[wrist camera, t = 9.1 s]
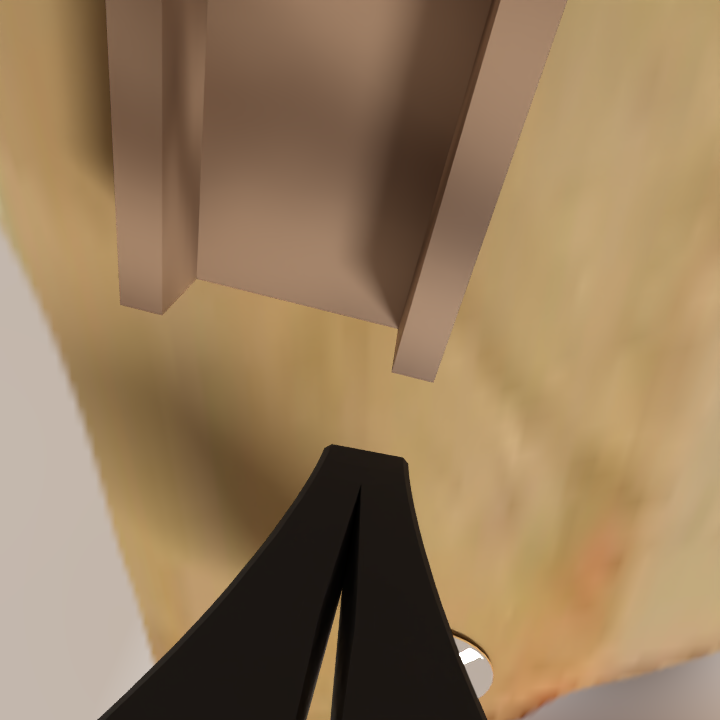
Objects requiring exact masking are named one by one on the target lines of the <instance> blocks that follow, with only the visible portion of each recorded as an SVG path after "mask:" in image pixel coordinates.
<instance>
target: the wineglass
mask: <svg viewBox="0 0 720 720" xmlns="http://www.w3.org/2000/svg"><path fill="white" fill-rule="evenodd" d="M453 637H454V640H455V643H456V645H457V648H458V650H459V653H460V656H461V658H462V661H463V663H464V666H465V668H466V671H467V673H468V676H469V678H470V681H471V683H472V685H473V688H474V690H475V692H476V695H477V697H478V698H480V697H481V696H483V695H484V694H485V693H486V692H487V691H488V690H489V689H490V687H491V685H492V683H493V680H494V670H493V667H492V664H491V662H490V661H489V659H488V658H487V656H486V655H485V654H484V653H483V652H482V651H481V650H480V649H479V648H478V647H476V646H474V645H473V644H471V643H470V642H468V641H466V640H464V639H462V638H460V637H457V636H455V635H453Z"/></svg>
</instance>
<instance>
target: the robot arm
mask: <svg viewBox="0 0 720 720" xmlns="http://www.w3.org/2000/svg"><path fill="white" fill-rule="evenodd" d="M341 591H342V597H341V608H340V619H339V630H338V641H337V653H336V664H335V675H334V686H333V698H332V709H331V720H487V718H486V716H485V713H484V711H483V709H482V706H481V704H480V702H479V699H478V697H477V695H476V692H475V690H474V688H473V685H472V683H471V681H470V678H469V676H468V673H467V671H466V668H465V666H464V663H463V661H462V658H461V656H460V653H459V650H458V648H457V645H456V643H455V640H454V637H453V634H452V632H451V629H450V626H449V623H448V620H447V618H446V615H445V612H444V609H443V607H442V604H441V601H440V598H439V594H438V591H437V588H436V585H435V582H434V579H433V576H432V572H431V569H430V565H429V562H428V559H427V555H426V552H425V548H424V545H423V541H422V537H421V534H420V530H419V526H418V521H417V517H416V512H415V508H414V503H413V498H412V492H411V486H410V479H409V470H408V463H407V462H406V461H405V459H404V458H402V457H397V456H392V455H386V454H381V453H376V452H371V451H365V450H360V449H355V448H349V447H344V446H339V445H333V444H331V445H329V446H327V447H326V448H324V450H323V453H322V455H321V457H320V459H319V461H318V463H317V465H316V467H315V468H314V470H313V472H312V474H311V475H310V477H309V479H308V480H307V482H306V484H305V485H304V487H303V488H302V490H301V491H300V493H299V495H298V496H297V498H296V499H295V501H294V502H293V504H292V505H291V506H290V508H289V509H288V511H287V512H286V513H285V515H284V516H283V518H282V519H281V520H280V522H279V523H278V524H277V526H276V527H275V529H274V530H273V531H272V533H271V534H270V535H269V537H268V538H267V539H266V541H265V542H264V543H263V545H262V546H261V547H260V548H259V550H258V551H257V552H256V553H255V555H254V556H253V557H252V558H251V559H250V561H249V562H248V563H247V564H246V566H245V567H244V568H243V569H242V570H241V572H240V573H239V574H238V575H237V576H236V578H235V579H234V580H233V581H232V583H231V584H230V585H229V586H228V587H227V589H226V590H225V591H224V592H223V593H222V594H221V595H220V597H219V598H218V599H217V600H216V601H215V602H214V603H213V604H212V606H211V607H210V608H209V609H208V610H207V611H206V612H205V613H204V614H203V615H202V617H201V618H200V619H199V620H198V621H197V622H196V623H195V624H194V625H193V626H192V627H191V628H190V629H189V630H188V631H187V633H186V634H185V635H184V636H183V637H182V638H181V639H180V640H179V641H178V642H177V643H176V644H175V645H174V646H173V647H172V648H171V649H170V650H169V651H168V652H167V653H166V654H165V655H164V656H163V657H162V658H161V659H160V660H159V661H158V662H157V663H156V664H155V665H154V666H153V667H152V668H151V669H150V670H149V671H148V672H147V673H146V674H145V675H144V676H143V677H142V678H141V679H140V680H139V681H138V682H137V683H136V684H135V685H134V686H133V687H132V688H131V689H130V690H129V691H128V692H127V693H126V694H124V695H123V696H122V697H121V698H120V699H119V700H118V701H117V702H116V703H115V704H114V705H113V706H112V707H111V708H110V709H109V710H107V711H106V712H105V713H104V714H103V715H102V716H101V717H100V718H99V719H98V720H306V719H307V715H308V711H309V708H310V704H311V701H312V697H313V693H314V690H315V686H316V682H317V679H318V675H319V671H320V668H321V664H322V661H323V657H324V653H325V650H326V646H327V642H328V639H329V635H330V631H331V628H332V624H333V620H334V617H335V613H336V609H337V606H338V602H339V599H340V595H341Z"/></svg>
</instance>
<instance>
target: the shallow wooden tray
mask: <svg viewBox="0 0 720 720" xmlns="http://www.w3.org/2000/svg"><path fill="white" fill-rule="evenodd" d="M566 3H567V0H106V21H107V41H108V62H109V82H110V103H111V124H112V144H113V165H114V185H115V206H116V226H117V247H118V267H119V288H120V305H123V306H127V307H131V308H135V309H139V310H143V311H147V312H151V313H155V314H159V315H163V314H164V313H165V312H166V311H167V309H168V308H169V307H170V306H171V305H172V304H173V303H174V302H175V301H176V300H177V299H178V298H179V297H180V296H181V295H182V294H183V293H184V292H185V291H186V289H187V288H188V287H189V286H190V285H191V284H192V283H193V282H194V281H195V280H196V279H199V280H203V281H207V282H212V283H216V284H220V285H224V286H228V287H232V288H236V289H240V290H244V291H248V292H252V293H256V294H260V295H264V296H268V297H272V298H276V299H280V300H284V301H288V302H292V303H296V304H300V305H304V306H308V307H312V308H316V309H320V310H324V311H328V312H332V313H336V314H340V315H344V316H348V317H352V318H356V319H360V320H364V321H368V322H372V323H376V324H381V325H385V326H389V327H393V328H397V329H398V334H397V340H396V347H395V354H394V360H393V367H392V372H393V373H397V374H401V375H405V376H409V377H413V378H417V379H421V380H425V381H429V382H434V380H435V377H436V374H437V371H438V368H439V365H440V362H441V360H442V357H443V354H444V351H445V348H446V345H447V343H448V340H449V337H450V334H451V331H452V328H453V325H454V323H455V320H456V317H457V314H458V311H459V308H460V305H461V303H462V300H463V297H464V294H465V291H466V288H467V285H468V283H469V280H470V277H471V274H472V271H473V268H474V266H475V263H476V260H477V257H478V254H479V251H480V248H481V246H482V243H483V240H484V237H485V234H486V231H487V228H488V226H489V223H490V220H491V217H492V214H493V211H494V208H495V206H496V203H497V200H498V197H499V194H500V191H501V189H502V186H503V183H504V180H505V177H506V174H507V171H508V169H509V166H510V163H511V160H512V157H513V154H514V151H515V149H516V146H517V143H518V140H519V137H520V134H521V132H522V129H523V126H524V123H525V120H526V117H527V114H528V112H529V109H530V106H531V103H532V100H533V97H534V94H535V92H536V89H537V86H538V83H539V80H540V77H541V74H542V72H543V69H544V66H545V63H546V60H547V57H548V55H549V52H550V49H551V46H552V43H553V40H554V37H555V35H556V32H557V29H558V26H559V23H560V20H561V17H562V15H563V12H564V9H565V6H566Z"/></svg>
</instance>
